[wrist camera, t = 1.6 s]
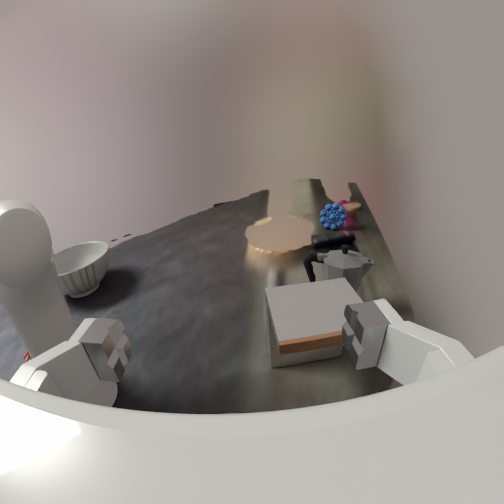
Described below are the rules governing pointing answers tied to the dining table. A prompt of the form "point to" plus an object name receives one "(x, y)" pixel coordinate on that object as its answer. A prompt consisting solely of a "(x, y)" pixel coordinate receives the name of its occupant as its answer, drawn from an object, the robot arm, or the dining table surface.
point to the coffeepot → (340, 265)
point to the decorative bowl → (82, 267)
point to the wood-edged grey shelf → (307, 320)
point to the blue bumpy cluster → (333, 216)
